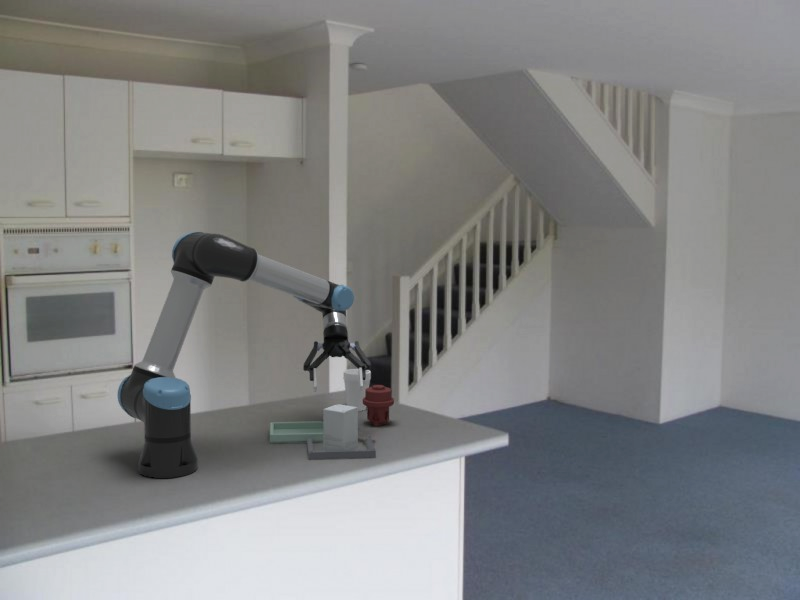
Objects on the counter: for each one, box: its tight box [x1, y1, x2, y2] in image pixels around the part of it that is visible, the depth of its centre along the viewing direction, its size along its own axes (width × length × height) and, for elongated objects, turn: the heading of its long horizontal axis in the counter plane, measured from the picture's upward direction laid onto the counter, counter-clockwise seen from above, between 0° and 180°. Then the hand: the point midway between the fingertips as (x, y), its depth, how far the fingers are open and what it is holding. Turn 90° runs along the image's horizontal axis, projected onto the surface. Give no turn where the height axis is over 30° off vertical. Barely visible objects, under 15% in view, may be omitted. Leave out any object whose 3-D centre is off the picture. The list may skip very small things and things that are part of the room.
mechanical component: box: [363, 384, 395, 427], centre depth 264 cm, size 12×10×10 cm
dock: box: [306, 435, 377, 460], centre depth 235 cm, size 18×15×2 cm
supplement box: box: [322, 403, 359, 451], centre depth 234 cm, size 7×7×13 cm
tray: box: [269, 420, 323, 445], centre depth 249 cm, size 20×14×3 cm
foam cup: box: [343, 368, 372, 412], centre depth 283 cm, size 10×9×13 cm
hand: (338, 388), depth 244 cm, fingers open, 13 cm apart
